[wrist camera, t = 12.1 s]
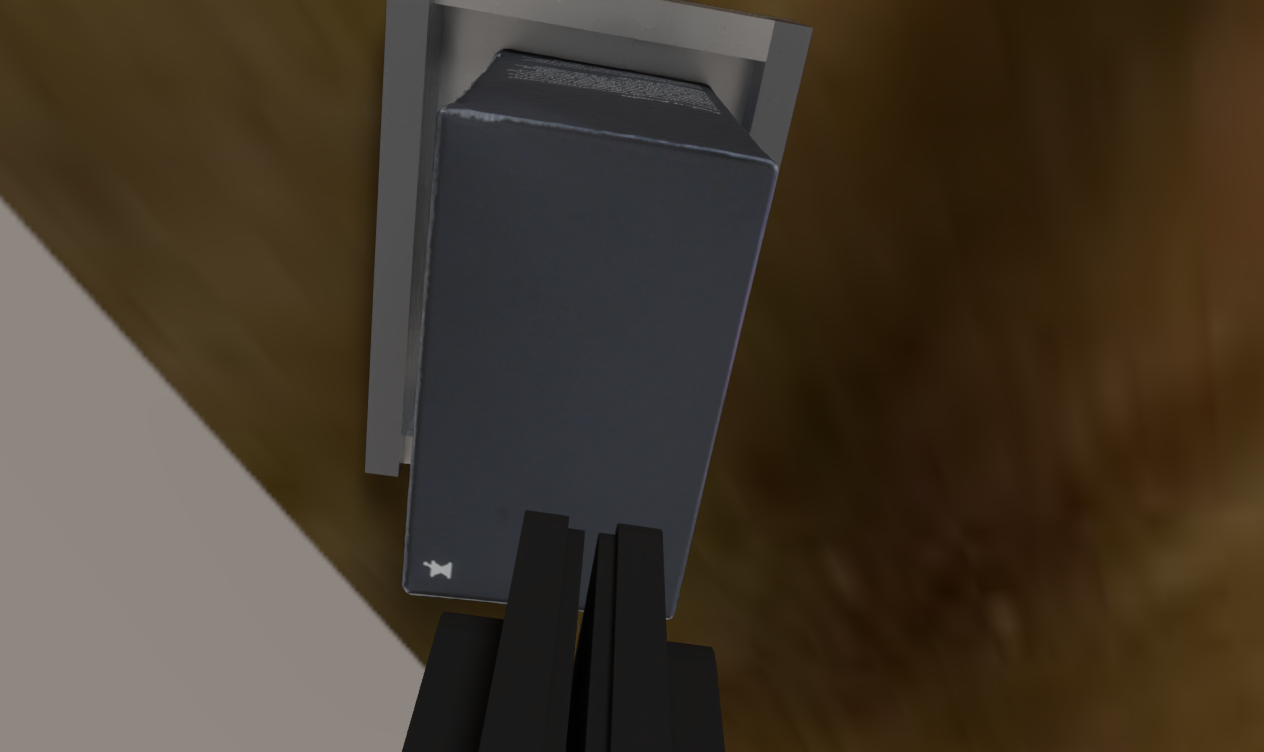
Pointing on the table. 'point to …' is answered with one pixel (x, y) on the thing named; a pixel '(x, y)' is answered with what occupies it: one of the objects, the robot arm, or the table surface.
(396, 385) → the rail seat
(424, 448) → the small box
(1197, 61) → the table surface
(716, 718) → the robot arm
